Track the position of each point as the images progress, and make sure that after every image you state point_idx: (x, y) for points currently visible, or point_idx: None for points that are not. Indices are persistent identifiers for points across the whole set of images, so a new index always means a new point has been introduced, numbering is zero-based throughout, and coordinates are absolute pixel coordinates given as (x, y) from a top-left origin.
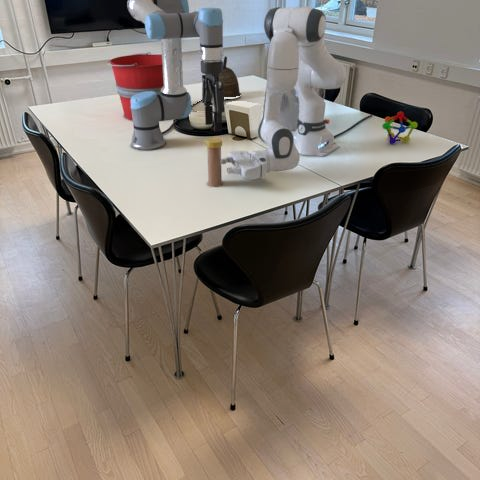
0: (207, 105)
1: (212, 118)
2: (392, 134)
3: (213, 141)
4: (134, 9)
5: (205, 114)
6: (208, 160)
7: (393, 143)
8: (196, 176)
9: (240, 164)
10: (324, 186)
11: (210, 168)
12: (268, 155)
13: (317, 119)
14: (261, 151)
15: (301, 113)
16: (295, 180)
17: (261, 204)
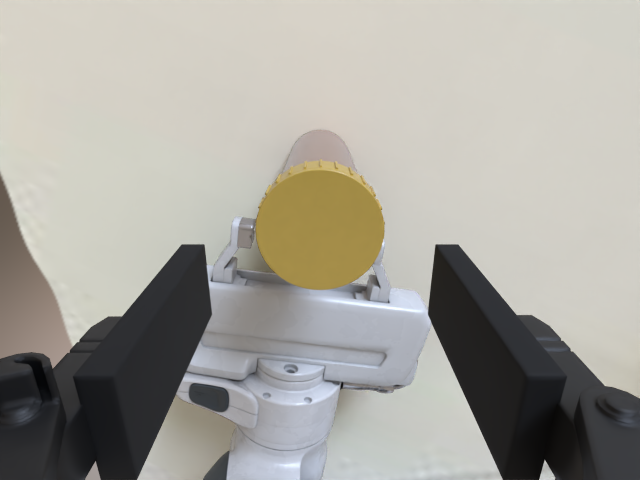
0: (561, 430)
1: (445, 346)
2: None
3: (289, 218)
4: None
5: (490, 301)
6: (314, 149)
7: None
8: (437, 109)
9: (240, 295)
10: (154, 476)
11: (300, 147)
12: (247, 437)
13: None
14: (279, 431)
15: None
16: (228, 429)
17: (72, 251)
